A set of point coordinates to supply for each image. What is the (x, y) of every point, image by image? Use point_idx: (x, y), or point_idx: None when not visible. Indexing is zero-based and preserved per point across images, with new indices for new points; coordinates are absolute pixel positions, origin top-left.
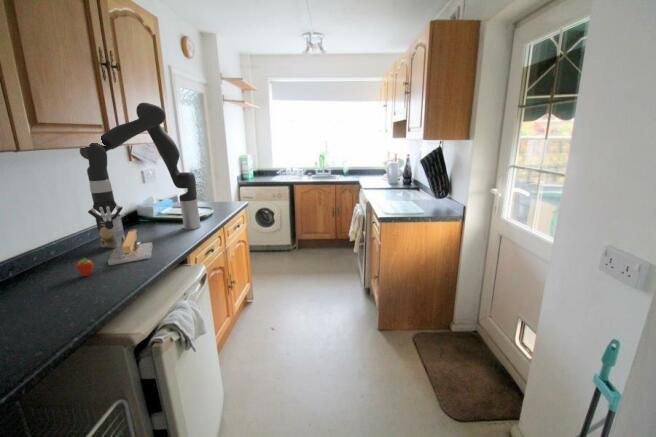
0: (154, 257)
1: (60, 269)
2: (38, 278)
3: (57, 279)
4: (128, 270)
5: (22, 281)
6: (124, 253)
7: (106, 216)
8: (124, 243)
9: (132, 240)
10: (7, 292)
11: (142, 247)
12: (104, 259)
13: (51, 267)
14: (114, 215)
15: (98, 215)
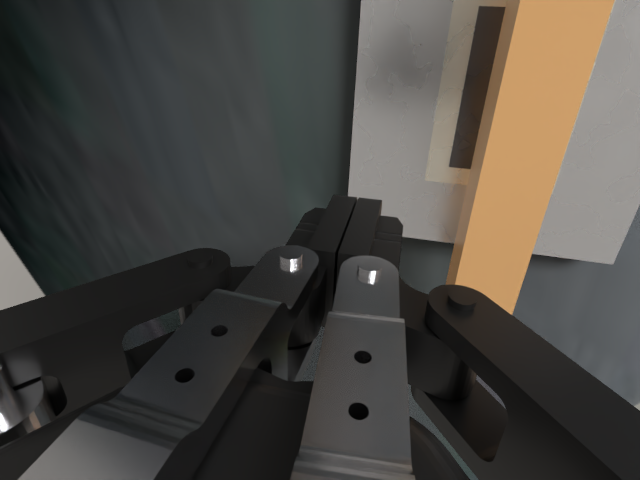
0: (630, 246)
1: (106, 119)
2: (66, 195)
3: (156, 259)
4: None
5: (17, 192)
6: (448, 142)
7: (291, 313)
8: (470, 253)
9: (555, 172)
10: (37, 278)
11: (619, 39)
12: (310, 75)
13: (36, 46)
14: (453, 435)
15: (136, 317)
